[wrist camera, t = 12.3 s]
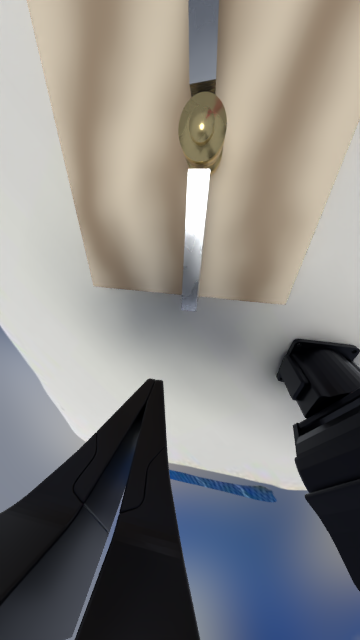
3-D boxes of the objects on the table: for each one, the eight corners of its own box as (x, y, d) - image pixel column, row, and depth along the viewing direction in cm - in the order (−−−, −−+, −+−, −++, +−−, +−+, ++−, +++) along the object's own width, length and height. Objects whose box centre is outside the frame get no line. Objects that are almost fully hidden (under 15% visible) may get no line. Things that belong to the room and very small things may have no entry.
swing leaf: (219, 174, 12) (222, 156, 9) (188, 177, 12) (181, 161, 9) (240, -219, 6) (272, -684, 3) (182, -193, 7) (155, -586, 3)
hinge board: (507, -291, 6) (561, -384, 5) (281, 300, 17) (285, 304, 16) (3, -162, 8) (-22, -208, 7) (98, 283, 19) (93, 286, 18)
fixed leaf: (188, 132, 11) (177, 85, 7) (224, 132, 11) (232, 82, 7) (181, 292, 17) (172, 311, 13) (204, 294, 17) (203, 315, 13)
